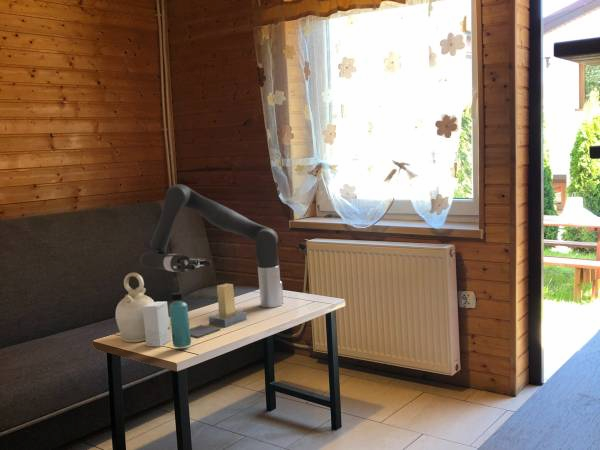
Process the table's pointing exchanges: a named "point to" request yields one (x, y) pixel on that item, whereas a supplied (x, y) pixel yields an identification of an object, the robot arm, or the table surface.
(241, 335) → the table surface
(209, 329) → the flat gray metal plate
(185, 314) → the beverage bottle
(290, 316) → the table surface
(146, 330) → the skincare box
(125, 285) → the jug
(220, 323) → the grey metal rectangular block
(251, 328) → the table surface
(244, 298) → the table surface
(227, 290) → the tall wooden pillar
